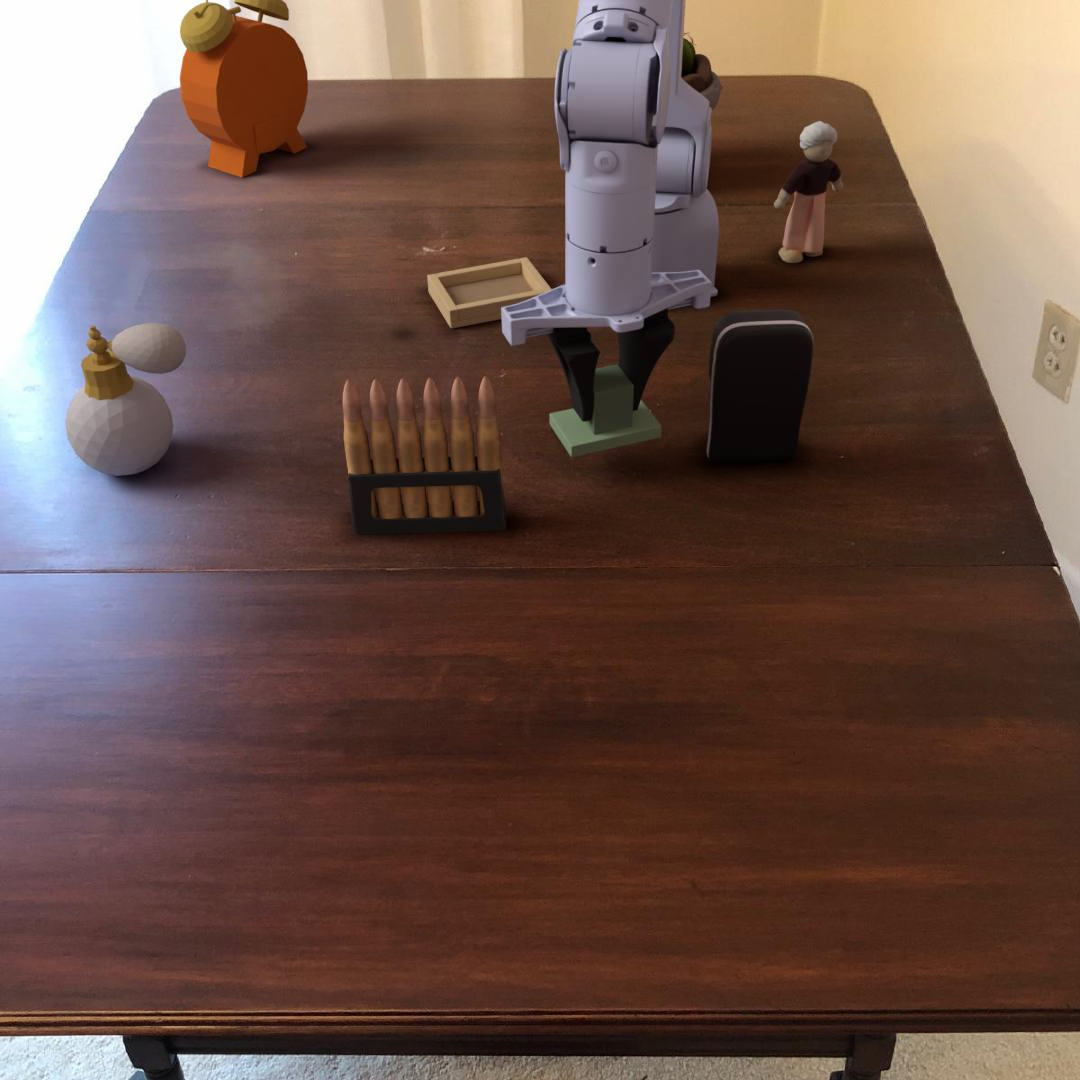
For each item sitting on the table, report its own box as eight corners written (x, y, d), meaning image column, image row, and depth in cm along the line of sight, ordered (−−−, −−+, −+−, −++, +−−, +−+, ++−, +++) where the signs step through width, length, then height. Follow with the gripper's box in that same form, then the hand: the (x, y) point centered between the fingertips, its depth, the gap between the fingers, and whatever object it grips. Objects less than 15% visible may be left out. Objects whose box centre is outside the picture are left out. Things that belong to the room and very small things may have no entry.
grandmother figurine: (793, 272, 114) (811, 139, 106) (762, 258, 116) (777, 127, 108) (845, 247, 118) (866, 116, 110) (813, 233, 120) (831, 105, 112)
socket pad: (527, 274, 114) (526, 256, 113) (553, 309, 109) (553, 291, 108) (428, 292, 112) (427, 274, 111) (450, 329, 107) (449, 310, 106)
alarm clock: (279, 131, 142) (251, -54, 129) (318, 143, 139) (293, -46, 127) (193, 170, 134) (153, -24, 121) (232, 183, 131) (196, -14, 118)
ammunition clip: (352, 534, 85) (331, 388, 77) (355, 517, 87) (334, 372, 79) (506, 529, 85) (500, 384, 78) (506, 513, 87) (500, 368, 79)
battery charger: (788, 432, 94) (807, 299, 87) (799, 462, 91) (820, 326, 84) (698, 436, 94) (709, 303, 86) (706, 466, 91) (718, 330, 83)
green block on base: (636, 405, 92) (639, 353, 89) (661, 437, 88) (664, 384, 85) (549, 424, 90) (548, 372, 87) (571, 458, 87) (571, 405, 84)
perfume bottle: (80, 442, 94) (37, 303, 86) (208, 423, 96) (178, 285, 88) (77, 500, 88) (31, 357, 81) (214, 478, 90) (181, 336, 83)
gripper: (524, 280, 74) (528, 461, 83) (738, 240, 78) (721, 417, 87) (488, 232, 79) (495, 407, 88) (690, 197, 83) (678, 368, 92)
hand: (605, 408), depth 88 cm, fingers closed on green block on base, 3 cm apart
